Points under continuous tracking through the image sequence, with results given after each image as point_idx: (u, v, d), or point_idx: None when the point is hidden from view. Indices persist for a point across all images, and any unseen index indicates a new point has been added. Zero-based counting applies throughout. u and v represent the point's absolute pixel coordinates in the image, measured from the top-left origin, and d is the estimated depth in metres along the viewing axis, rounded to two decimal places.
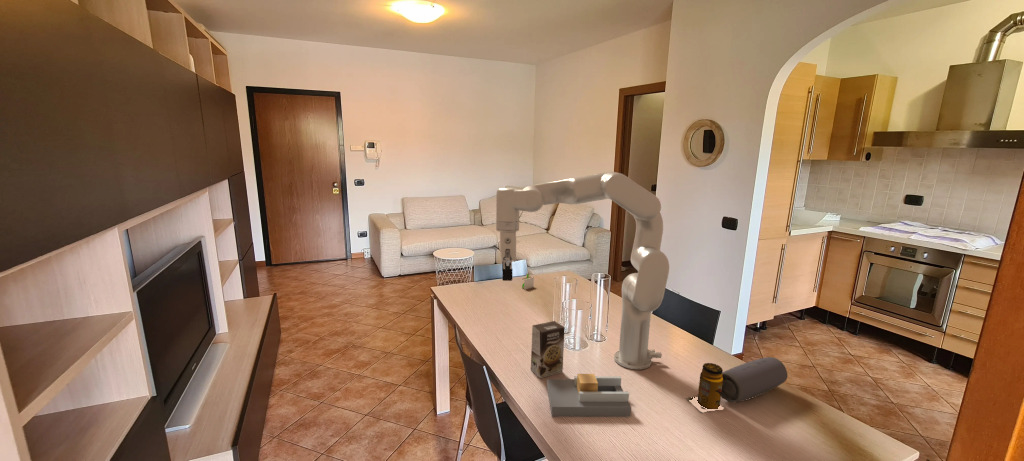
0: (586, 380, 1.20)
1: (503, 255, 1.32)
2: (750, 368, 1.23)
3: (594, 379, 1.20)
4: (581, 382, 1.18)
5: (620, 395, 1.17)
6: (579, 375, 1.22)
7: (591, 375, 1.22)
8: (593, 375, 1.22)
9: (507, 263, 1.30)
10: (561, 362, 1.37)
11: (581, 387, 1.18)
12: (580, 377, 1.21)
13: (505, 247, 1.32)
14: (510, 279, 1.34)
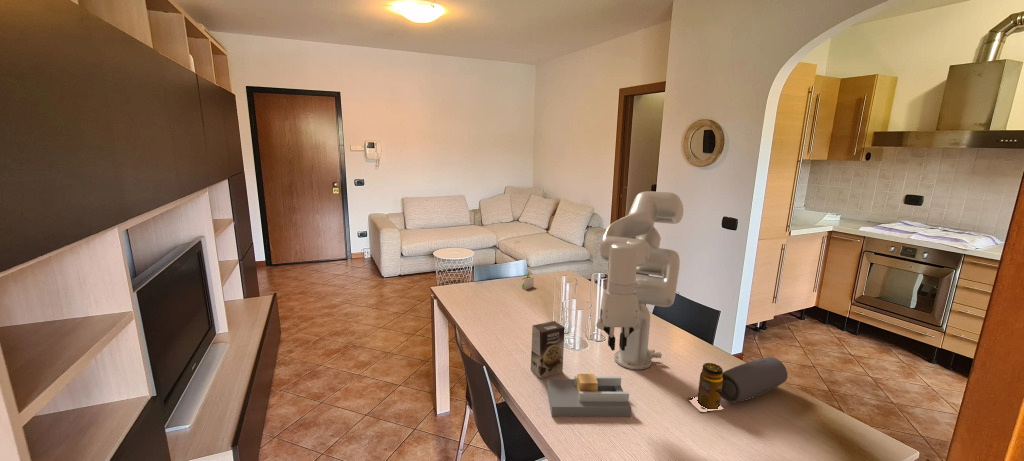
0: (586, 380, 1.20)
1: None
2: (750, 368, 1.23)
3: (594, 379, 1.20)
4: (581, 382, 1.18)
5: (620, 395, 1.17)
6: (579, 375, 1.22)
7: (591, 375, 1.22)
8: (593, 375, 1.22)
9: None
10: (561, 362, 1.37)
11: (581, 387, 1.18)
12: (580, 377, 1.21)
13: None
14: None
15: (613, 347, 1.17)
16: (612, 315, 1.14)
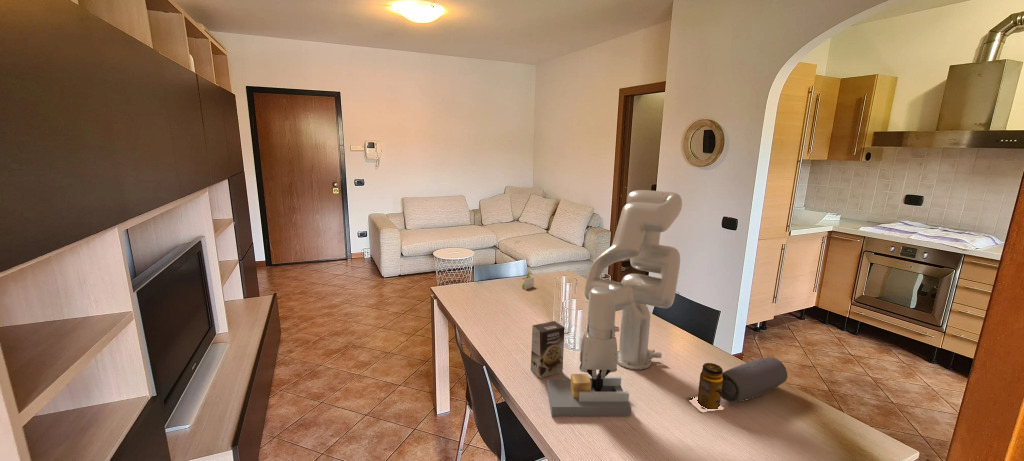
0: (580, 380, 1.20)
1: None
2: (750, 369, 1.23)
3: (587, 379, 1.20)
4: (574, 382, 1.18)
5: (620, 395, 1.17)
6: (572, 375, 1.22)
7: (584, 375, 1.22)
8: (587, 375, 1.22)
9: None
10: (561, 362, 1.37)
11: (574, 387, 1.18)
12: (573, 377, 1.21)
13: None
14: None
15: (596, 388, 1.19)
16: (592, 358, 1.17)
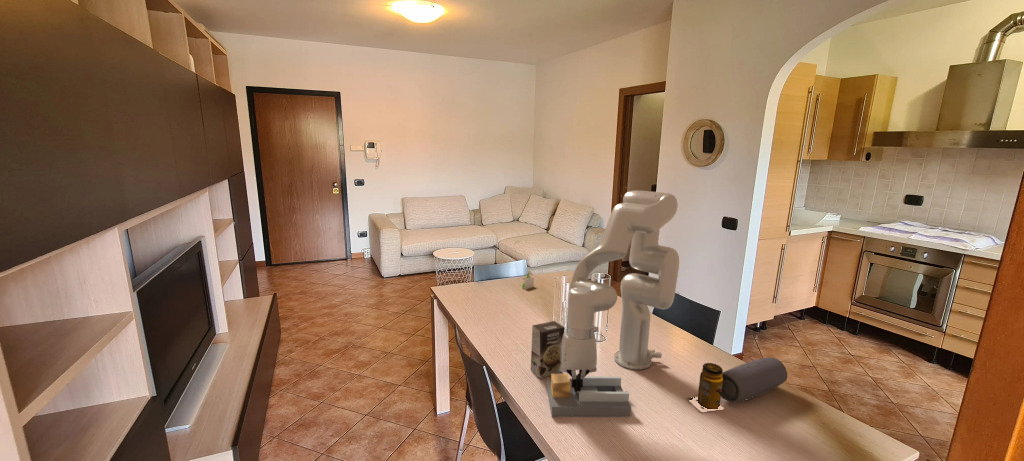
0: (559, 380, 1.19)
1: None
2: (750, 369, 1.23)
3: (567, 379, 1.20)
4: (554, 382, 1.18)
5: (620, 395, 1.17)
6: (553, 375, 1.22)
7: (565, 375, 1.22)
8: (567, 375, 1.22)
9: None
10: None
11: (554, 387, 1.18)
12: (553, 377, 1.21)
13: None
14: None
15: (576, 389, 1.19)
16: (571, 358, 1.17)
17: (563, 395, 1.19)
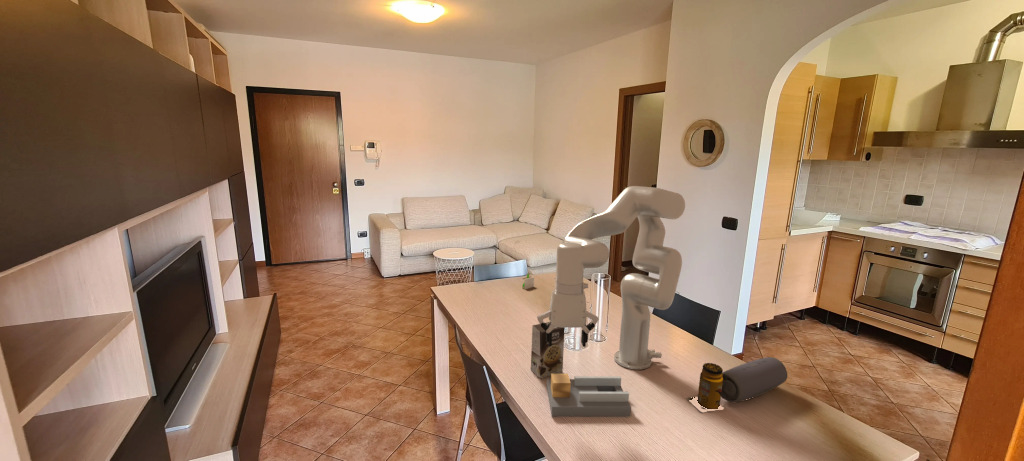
0: (559, 379, 1.19)
1: None
2: (750, 368, 1.23)
3: (567, 379, 1.20)
4: (554, 382, 1.18)
5: (620, 395, 1.17)
6: (552, 375, 1.22)
7: (564, 375, 1.22)
8: (567, 375, 1.22)
9: None
10: (561, 362, 1.37)
11: (554, 387, 1.18)
12: (553, 377, 1.21)
13: None
14: None
15: (550, 343, 1.16)
16: (560, 315, 1.14)
17: (563, 395, 1.19)
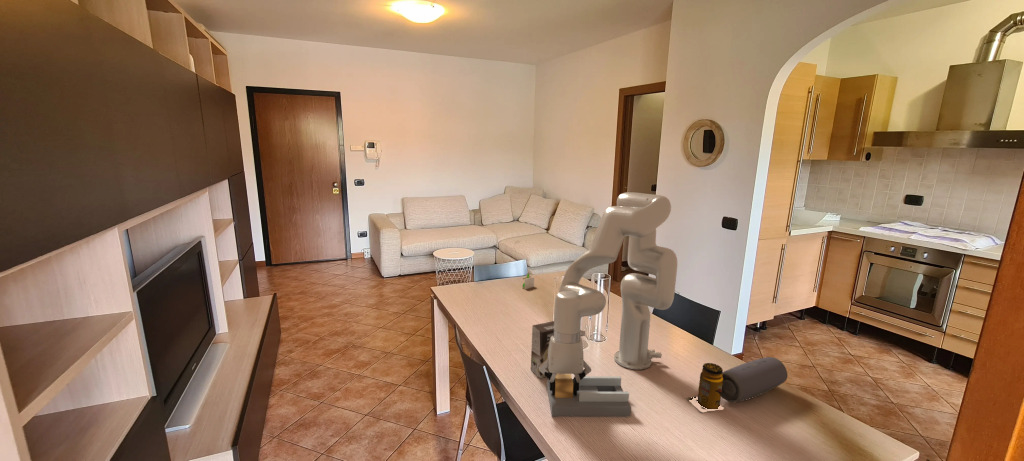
0: (562, 380, 1.19)
1: None
2: (751, 368, 1.23)
3: (569, 380, 1.19)
4: (556, 382, 1.18)
5: (620, 395, 1.17)
6: None
7: (567, 375, 1.22)
8: (570, 375, 1.22)
9: None
10: None
11: (556, 387, 1.18)
12: (556, 377, 1.21)
13: None
14: None
15: (553, 392, 1.19)
16: (557, 362, 1.17)
17: (566, 395, 1.18)
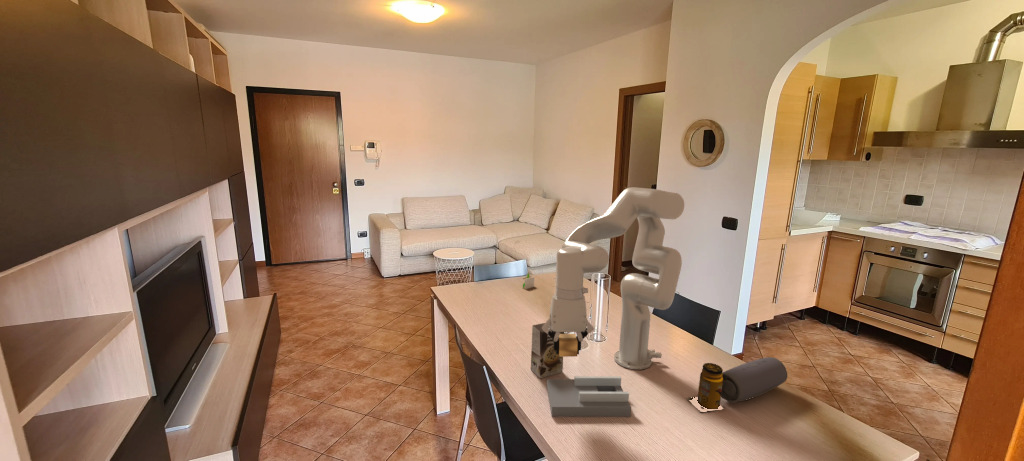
0: (566, 339, 1.17)
1: None
2: (750, 369, 1.23)
3: (573, 338, 1.17)
4: (560, 341, 1.16)
5: (620, 395, 1.17)
6: (559, 335, 1.19)
7: (571, 335, 1.20)
8: (574, 335, 1.19)
9: None
10: (561, 362, 1.37)
11: (560, 346, 1.16)
12: (560, 337, 1.18)
13: None
14: None
15: (557, 351, 1.17)
16: (560, 320, 1.14)
17: (570, 354, 1.16)
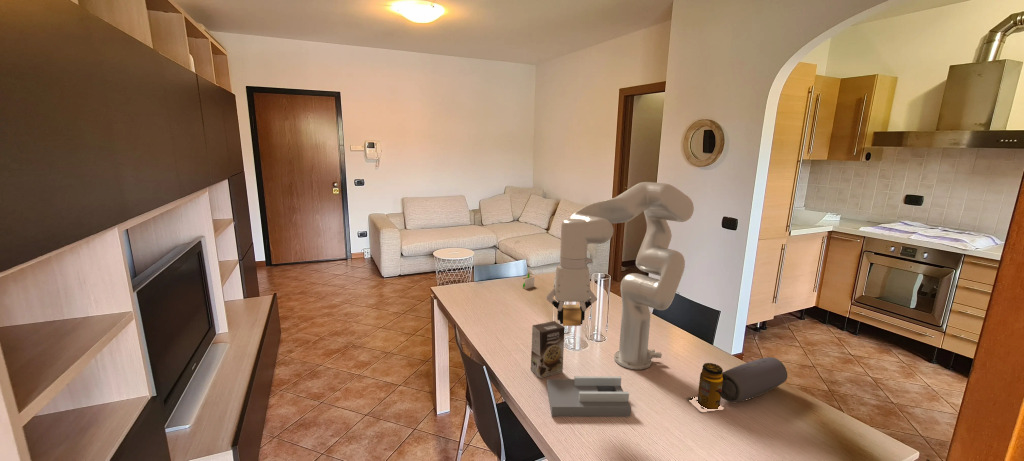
0: (570, 308, 1.19)
1: None
2: (750, 369, 1.23)
3: (577, 308, 1.20)
4: (564, 310, 1.18)
5: (620, 395, 1.17)
6: (563, 305, 1.22)
7: (575, 305, 1.22)
8: (577, 305, 1.22)
9: None
10: (561, 362, 1.37)
11: (564, 315, 1.18)
12: (564, 307, 1.21)
13: None
14: None
15: (561, 320, 1.19)
16: (564, 289, 1.17)
17: (574, 323, 1.19)
